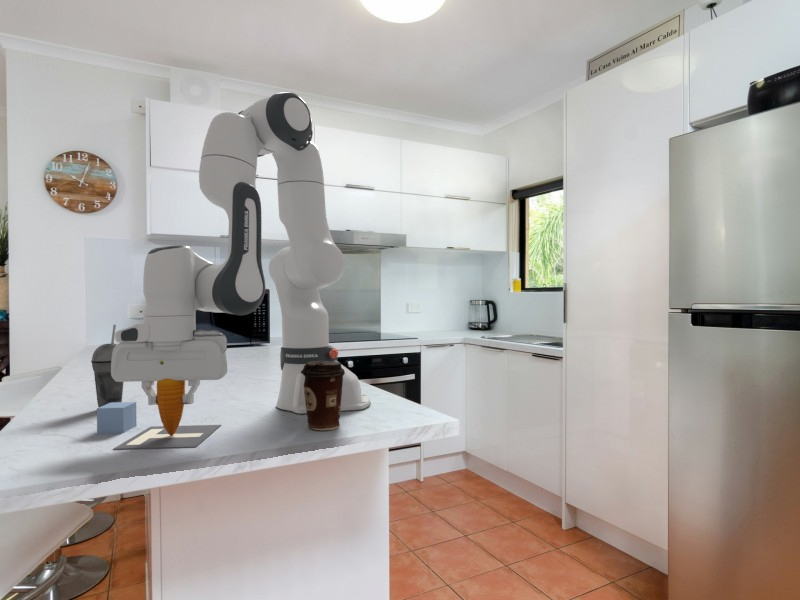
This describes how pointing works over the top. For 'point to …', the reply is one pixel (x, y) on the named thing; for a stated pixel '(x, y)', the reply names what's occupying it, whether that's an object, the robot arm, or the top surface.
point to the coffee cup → (323, 394)
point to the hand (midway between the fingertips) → (171, 404)
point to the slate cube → (116, 417)
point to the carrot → (170, 402)
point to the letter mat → (169, 437)
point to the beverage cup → (106, 374)
